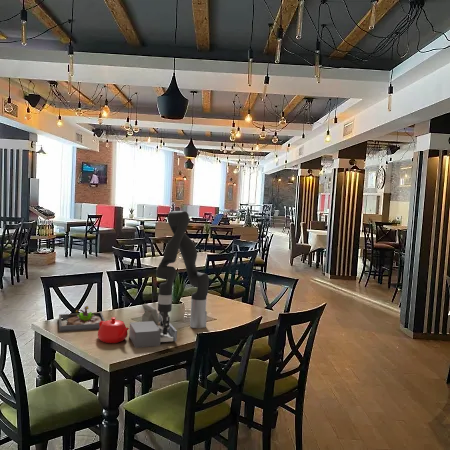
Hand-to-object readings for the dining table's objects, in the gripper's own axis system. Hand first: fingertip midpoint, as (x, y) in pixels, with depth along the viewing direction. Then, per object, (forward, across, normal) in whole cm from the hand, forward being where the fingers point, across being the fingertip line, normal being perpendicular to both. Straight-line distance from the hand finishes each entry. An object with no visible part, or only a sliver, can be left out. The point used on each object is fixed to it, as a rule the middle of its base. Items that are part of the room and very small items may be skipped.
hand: (163, 332), depth 229 cm
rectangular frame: (+4, +39, +40) cm, 56 cm away
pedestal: (+4, +14, -2) cm, 15 cm away
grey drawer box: (+3, 0, +1) cm, 3 cm away
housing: (+4, 0, +10) cm, 11 cm away
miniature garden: (+5, +40, +38) cm, 55 cm away
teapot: (+4, +5, +26) cm, 27 cm away
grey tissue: (+4, +33, 0) cm, 33 cm away
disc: (-1, 0, 0) cm, 1 cm away
